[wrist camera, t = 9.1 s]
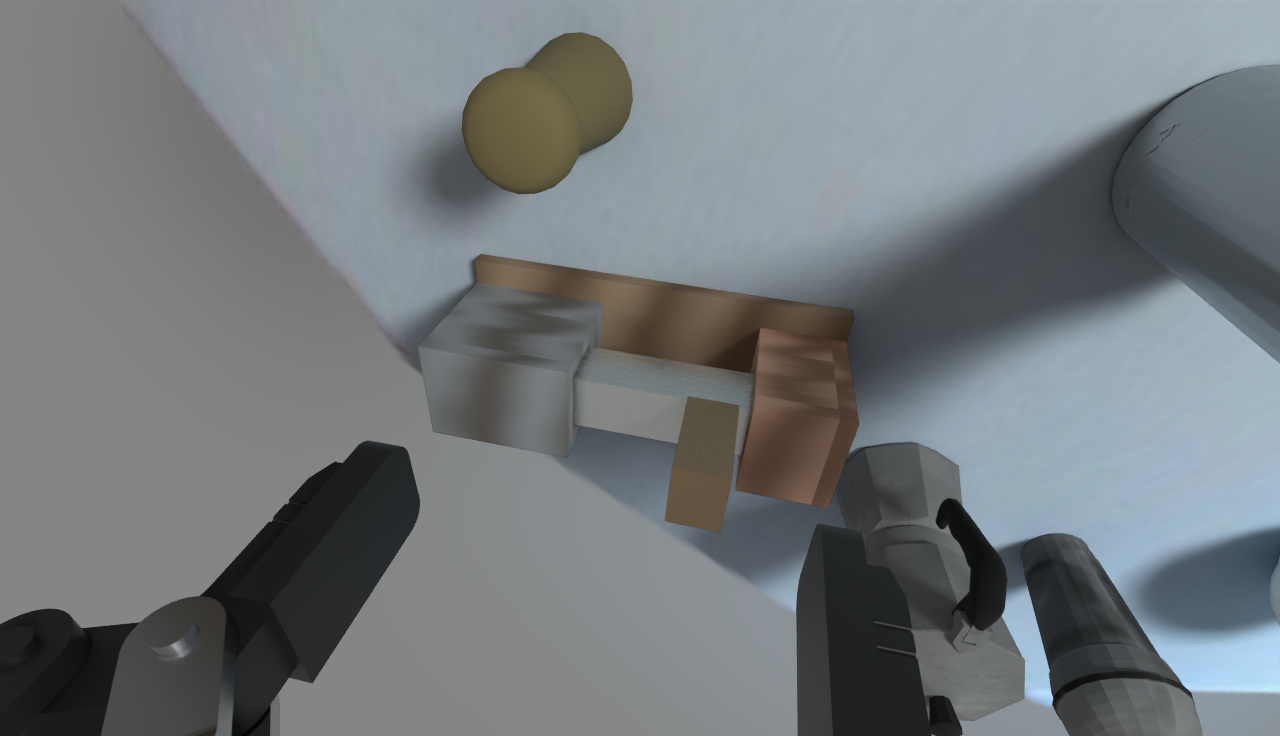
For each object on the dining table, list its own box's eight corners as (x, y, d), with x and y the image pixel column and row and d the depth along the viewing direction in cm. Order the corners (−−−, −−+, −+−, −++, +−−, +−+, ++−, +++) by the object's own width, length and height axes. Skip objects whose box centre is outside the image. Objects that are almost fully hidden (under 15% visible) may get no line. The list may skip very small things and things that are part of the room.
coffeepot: (929, 553, 49) (989, 807, 34) (812, 529, 50) (822, 765, 35) (1011, 407, 40) (1140, 669, 25) (866, 382, 41) (910, 619, 26)
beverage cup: (1126, 566, 45) (1312, 904, 29) (1025, 593, 49) (1141, 906, 33) (1086, 508, 43) (1264, 840, 27) (983, 540, 47) (1086, 849, 31)
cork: (589, 169, 36) (526, 240, 27) (510, 96, 35) (415, 146, 26) (654, 89, 33) (606, 140, 24) (569, 5, 32) (485, 26, 23)
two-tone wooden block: (820, 382, 37) (828, 498, 29) (805, 431, 39) (809, 550, 31) (557, 338, 39) (500, 435, 31) (558, 387, 41) (505, 489, 33)
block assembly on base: (852, 310, 38) (868, 399, 31) (815, 428, 44) (821, 526, 36) (480, 254, 41) (412, 321, 34) (492, 371, 47) (436, 451, 40)
